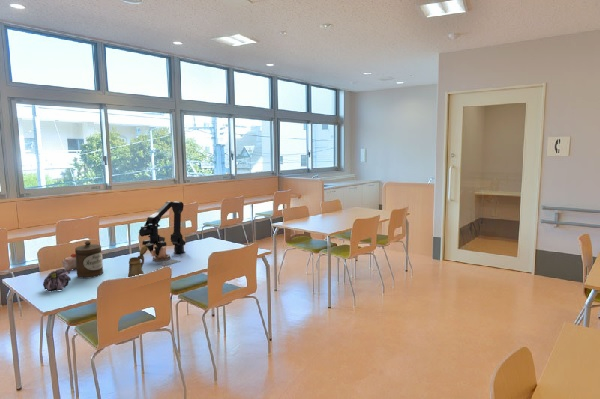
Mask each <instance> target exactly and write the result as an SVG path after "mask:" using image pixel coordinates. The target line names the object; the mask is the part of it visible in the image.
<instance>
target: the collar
mask: <svg viewBox="0 0 600 399" xmlns="http://www.w3.org/2000/svg"><path fill="white" fill-rule="evenodd" d="M168 260H171V255H170V254H168V253H166V257H164V258H157V256H154V257H153V256H152V261H154V262H164V261H168Z"/></svg>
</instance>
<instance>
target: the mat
mask: <svg viewBox="0 0 600 399" xmlns="http://www.w3.org/2000/svg"><path fill="white" fill-rule="evenodd" d="M177 262H178V263H181V262H182V260H178V259H169V260H164V261H160V262H158V263H157V265H160V266H164V267H166V266H171V265H173V264H177Z"/></svg>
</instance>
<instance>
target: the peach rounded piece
mask: <svg viewBox="0 0 600 399" xmlns="http://www.w3.org/2000/svg"><path fill="white" fill-rule="evenodd" d="M166 254H167V246H164V247H161V249H160V251H159V255H158V256H157V255H156V252H155V249H153V250H152V251H151V253H150V255H151V257H152V258H153V257H154V256H157V258H164V257H166Z"/></svg>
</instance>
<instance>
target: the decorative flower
mask: <svg viewBox="0 0 600 399" xmlns="http://www.w3.org/2000/svg"><path fill="white" fill-rule="evenodd" d="M69 274H71V272H70V270H69V271H68V270H66V269H65V268H59V269H56V270H53V271H51V272H50V273H48V275H47V276H46V277H44V280H43V282H42V285H43V288H44V290H45V289H47V290H48V291H51V292H52V291H53V292H55V291H56V292H57V290H62V291H63V288H67V286H68V285H69V282H70V281H72V278H71V277H70V276H69ZM47 290H46V291H47ZM48 291H47V292H48Z"/></svg>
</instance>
